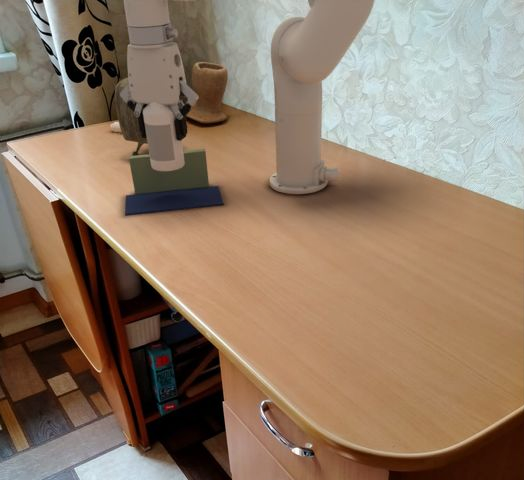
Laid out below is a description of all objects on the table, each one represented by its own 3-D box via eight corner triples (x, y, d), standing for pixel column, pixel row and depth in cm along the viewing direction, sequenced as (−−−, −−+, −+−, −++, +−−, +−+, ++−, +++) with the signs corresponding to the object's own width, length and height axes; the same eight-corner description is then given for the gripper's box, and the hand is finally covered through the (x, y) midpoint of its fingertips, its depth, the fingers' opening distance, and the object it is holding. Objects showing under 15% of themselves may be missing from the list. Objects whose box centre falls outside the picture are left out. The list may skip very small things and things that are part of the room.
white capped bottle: (149, 162, 119) (133, 67, 108) (181, 158, 120) (169, 64, 109) (154, 174, 113) (138, 75, 102) (188, 169, 115) (176, 71, 104)
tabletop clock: (162, 142, 152) (147, 36, 136) (189, 147, 148) (177, 38, 133) (125, 159, 142) (104, 47, 127) (153, 165, 138) (135, 50, 123)
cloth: (223, 205, 118) (223, 203, 118) (125, 215, 116) (124, 213, 115) (218, 187, 125) (218, 185, 125) (126, 196, 123) (125, 195, 123)
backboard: (209, 187, 126) (205, 151, 121) (135, 195, 124) (128, 158, 119) (208, 185, 127) (204, 148, 122) (135, 192, 125) (128, 156, 120)
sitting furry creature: (139, 123, 166) (132, 79, 159) (155, 129, 161) (148, 83, 153) (110, 131, 162) (101, 85, 154) (125, 137, 156) (116, 90, 149)
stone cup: (238, 121, 164) (234, 63, 155) (201, 129, 159) (195, 70, 150) (213, 110, 175) (208, 55, 165) (177, 117, 170) (170, 61, 161)
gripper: (203, 32, 103) (212, 134, 114) (118, 31, 108) (134, 129, 118) (186, 40, 97) (197, 146, 108) (96, 38, 102) (116, 140, 113)
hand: (164, 136), depth 113 cm, fingers closed on white capped bottle, 6 cm apart
